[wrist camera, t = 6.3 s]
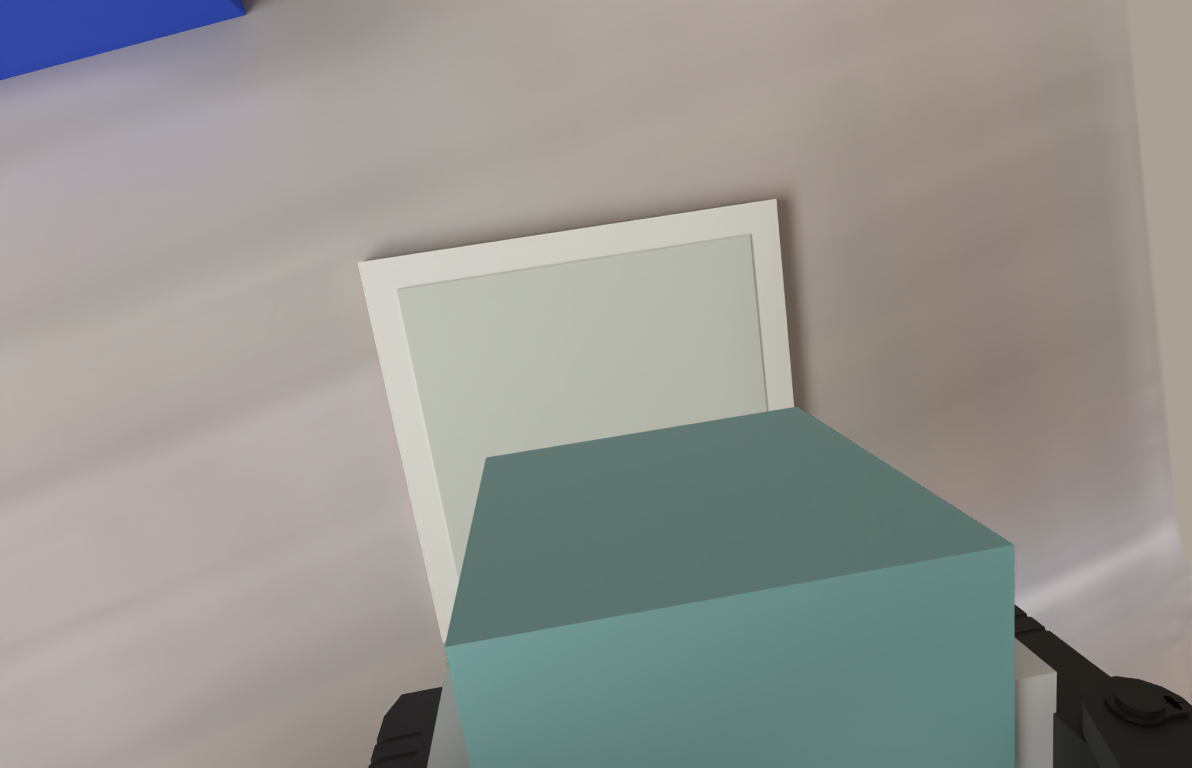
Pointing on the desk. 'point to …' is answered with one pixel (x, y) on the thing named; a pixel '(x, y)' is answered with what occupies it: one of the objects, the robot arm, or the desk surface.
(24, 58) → the bracket
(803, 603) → the cube
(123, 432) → the desk surface
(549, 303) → the white square tray
